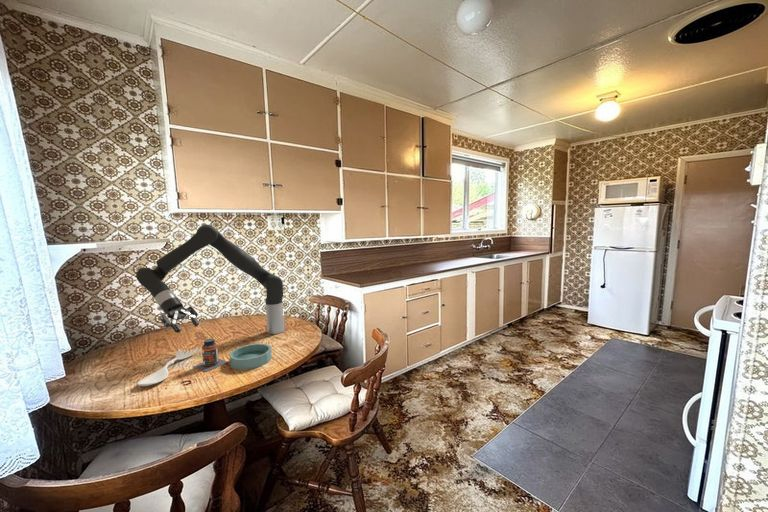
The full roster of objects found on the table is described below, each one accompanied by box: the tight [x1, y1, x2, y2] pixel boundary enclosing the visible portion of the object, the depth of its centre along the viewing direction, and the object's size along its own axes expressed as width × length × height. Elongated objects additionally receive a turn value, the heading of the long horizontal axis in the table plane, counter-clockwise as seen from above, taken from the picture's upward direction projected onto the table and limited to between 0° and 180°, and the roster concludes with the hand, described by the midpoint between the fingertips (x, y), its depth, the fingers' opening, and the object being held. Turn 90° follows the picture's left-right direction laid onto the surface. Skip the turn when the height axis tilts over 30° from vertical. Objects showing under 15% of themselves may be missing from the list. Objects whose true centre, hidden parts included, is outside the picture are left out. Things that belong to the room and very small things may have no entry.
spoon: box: [136, 347, 199, 387], centre depth 127 cm, size 9×32×4 cm, turn 7°
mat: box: [192, 358, 229, 373], centre depth 130 cm, size 10×10×1 cm
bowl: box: [229, 343, 273, 371], centre depth 133 cm, size 17×17×4 cm
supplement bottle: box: [201, 338, 219, 367], centre depth 130 cm, size 6×6×11 cm
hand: (188, 328), depth 133 cm, fingers open, 8 cm apart
